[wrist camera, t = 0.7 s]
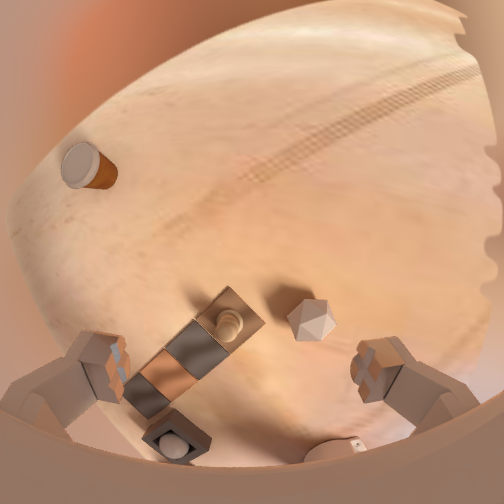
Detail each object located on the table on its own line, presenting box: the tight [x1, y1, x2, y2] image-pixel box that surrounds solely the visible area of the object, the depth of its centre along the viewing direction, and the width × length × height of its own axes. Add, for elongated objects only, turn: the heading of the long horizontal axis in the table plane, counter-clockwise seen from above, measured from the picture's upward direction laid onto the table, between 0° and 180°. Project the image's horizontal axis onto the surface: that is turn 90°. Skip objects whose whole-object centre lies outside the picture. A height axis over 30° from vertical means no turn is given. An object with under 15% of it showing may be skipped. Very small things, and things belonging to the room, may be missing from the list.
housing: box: [142, 409, 212, 465], centre depth 53 cm, size 12×12×5 cm
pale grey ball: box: [159, 432, 190, 459], centre depth 50 cm, size 7×7×7 cm
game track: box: [122, 288, 265, 419], centre depth 54 cm, size 10×40×1 cm, turn 134°
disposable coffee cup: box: [61, 142, 118, 189], centre depth 48 cm, size 10×10×12 cm
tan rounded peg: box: [215, 309, 243, 342], centre depth 49 cm, size 5×5×8 cm
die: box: [287, 299, 337, 341], centre depth 49 cm, size 8×9×10 cm
